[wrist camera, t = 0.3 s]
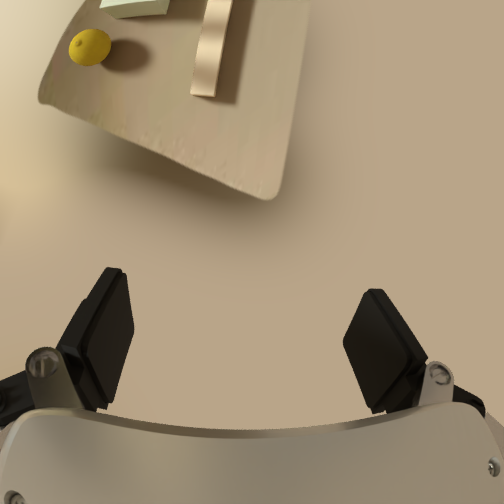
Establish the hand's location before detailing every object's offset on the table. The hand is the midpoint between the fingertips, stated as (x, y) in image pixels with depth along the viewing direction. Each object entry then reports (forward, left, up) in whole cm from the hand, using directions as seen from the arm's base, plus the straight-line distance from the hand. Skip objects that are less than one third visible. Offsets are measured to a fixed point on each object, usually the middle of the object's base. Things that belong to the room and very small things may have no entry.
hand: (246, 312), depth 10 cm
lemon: (-17, -22, -31) cm, 41 cm away
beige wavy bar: (-19, -5, -31) cm, 37 cm away
